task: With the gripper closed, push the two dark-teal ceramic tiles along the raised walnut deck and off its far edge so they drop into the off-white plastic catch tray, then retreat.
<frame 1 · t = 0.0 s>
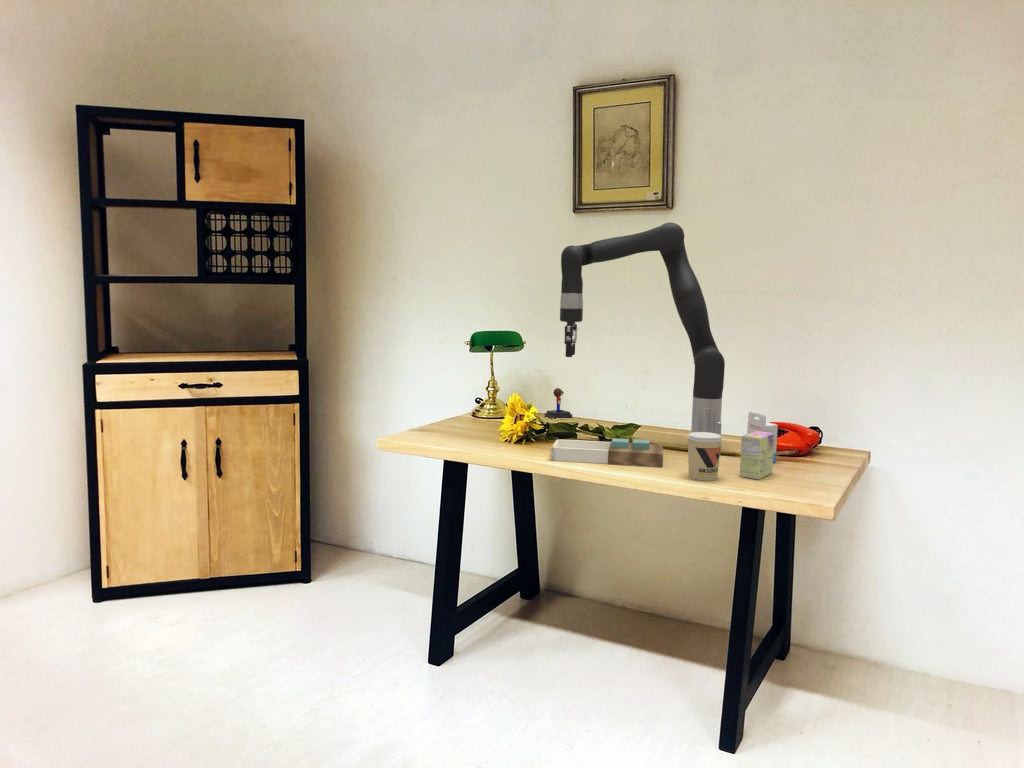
hand: (570, 355, 254), 29 cm above the table, fingers open, 8 cm apart
box: (755, 475, 216), on the table
tile 2: (640, 447, 231), point 4 cm above the table, touching walnut deck
ink box: (760, 460, 235), on the table
walnut deck: (635, 460, 232), on the table
tile 1: (620, 446, 232), point 4 cm above the table, touching walnut deck
coffee cup: (702, 477, 213), on the table
catch tray: (583, 457, 235), on the table
figurine: (558, 418, 305), on the table
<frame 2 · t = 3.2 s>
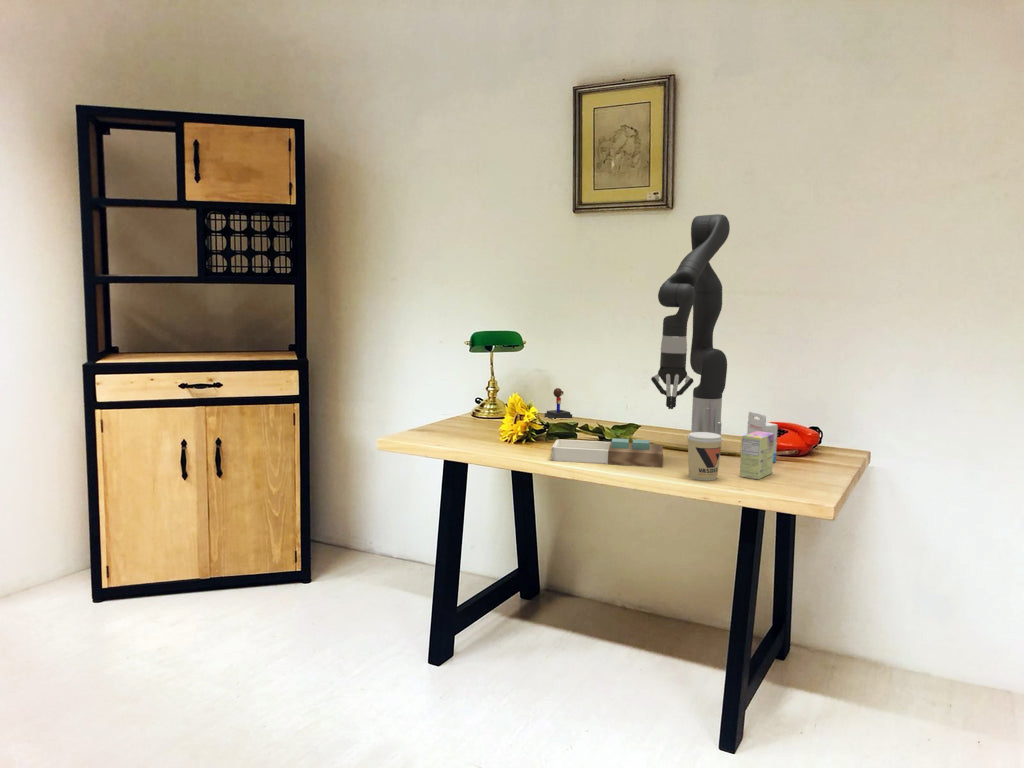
hand: (670, 408, 228), 16 cm above the table, fingers closed
nothing on the table moved.
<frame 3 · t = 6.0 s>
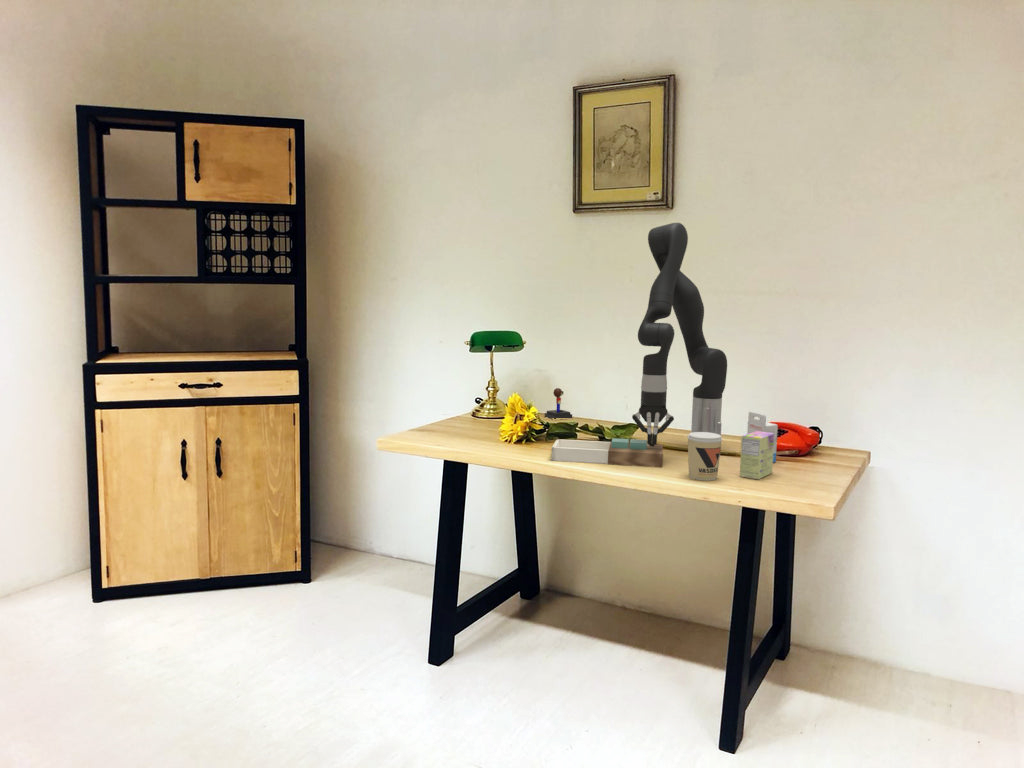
hand: (651, 445, 231), 5 cm above the table, fingers closed
nothing on the table moved.
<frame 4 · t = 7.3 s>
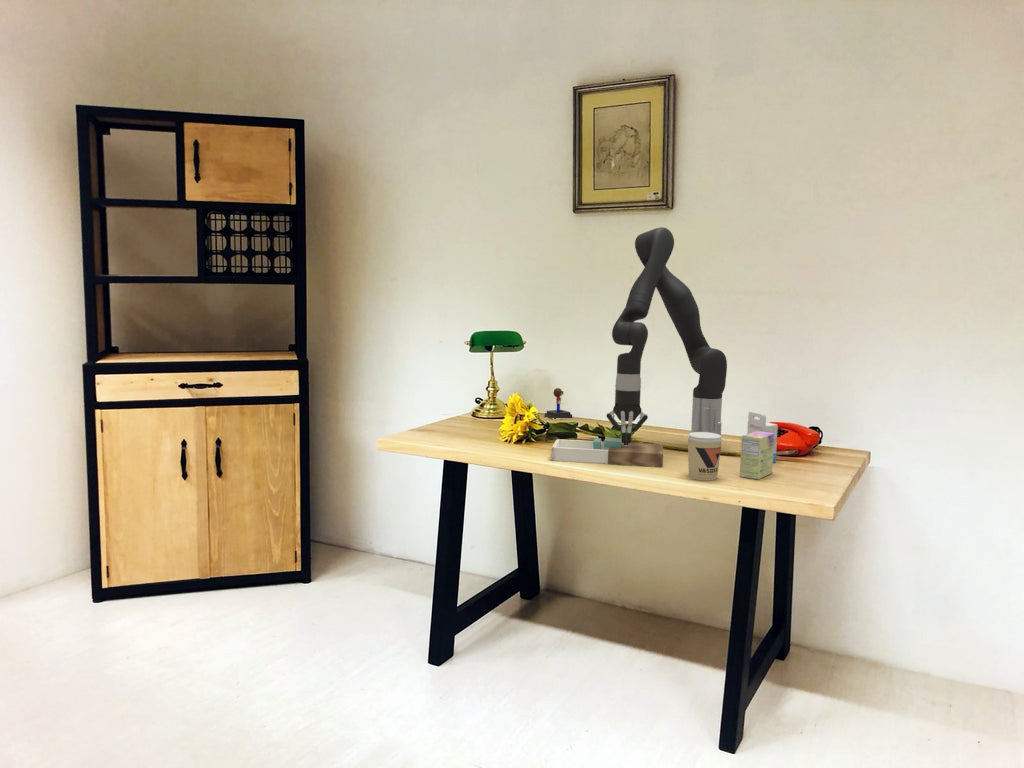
hand: (626, 444, 232), 5 cm above the table, fingers closed
tile 2: (613, 446, 233), point 4 cm above the table, touching gripper
tile 1: (600, 447, 234), point 3 cm above the table, tilted 95°, touching catch tray
everything else where it was.
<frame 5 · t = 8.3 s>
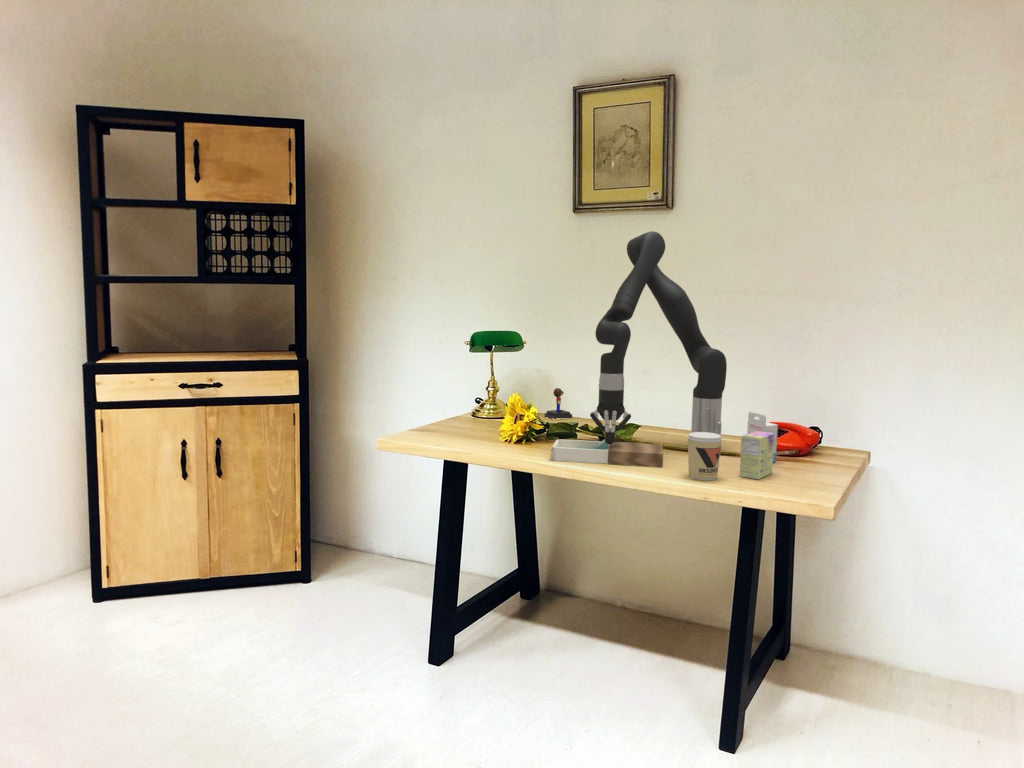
hand: (609, 443, 233), 5 cm above the table, fingers closed
tile 2: (602, 449, 234), point 3 cm above the table, tilted 39°, touching gripper, tile 1
tile 1: (584, 449, 235), point 3 cm above the table, tilted 180°, touching catch tray, tile 2
everything else where it was.
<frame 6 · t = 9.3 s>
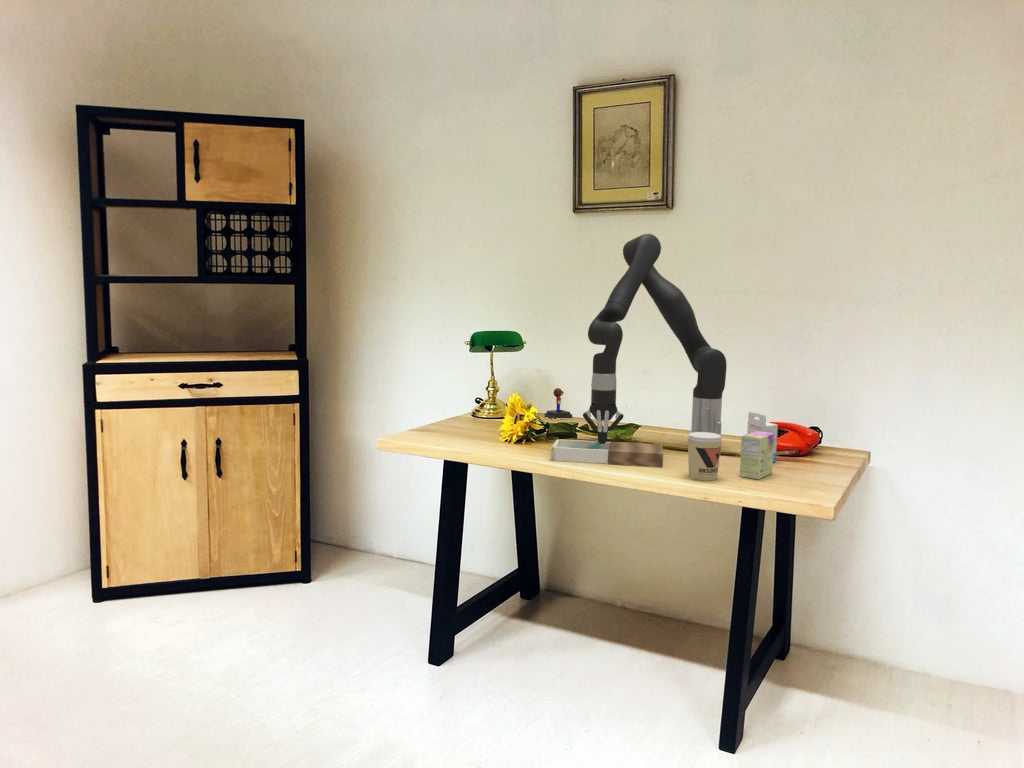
hand: (602, 443, 233), 5 cm above the table, fingers closed
tile 2: (595, 449, 235), point 2 cm above the table, tilted 36°, touching gripper, tile 1
tile 1: (576, 448, 236), point 3 cm above the table, tilted 180°, touching catch tray, tile 2
everything else where it was.
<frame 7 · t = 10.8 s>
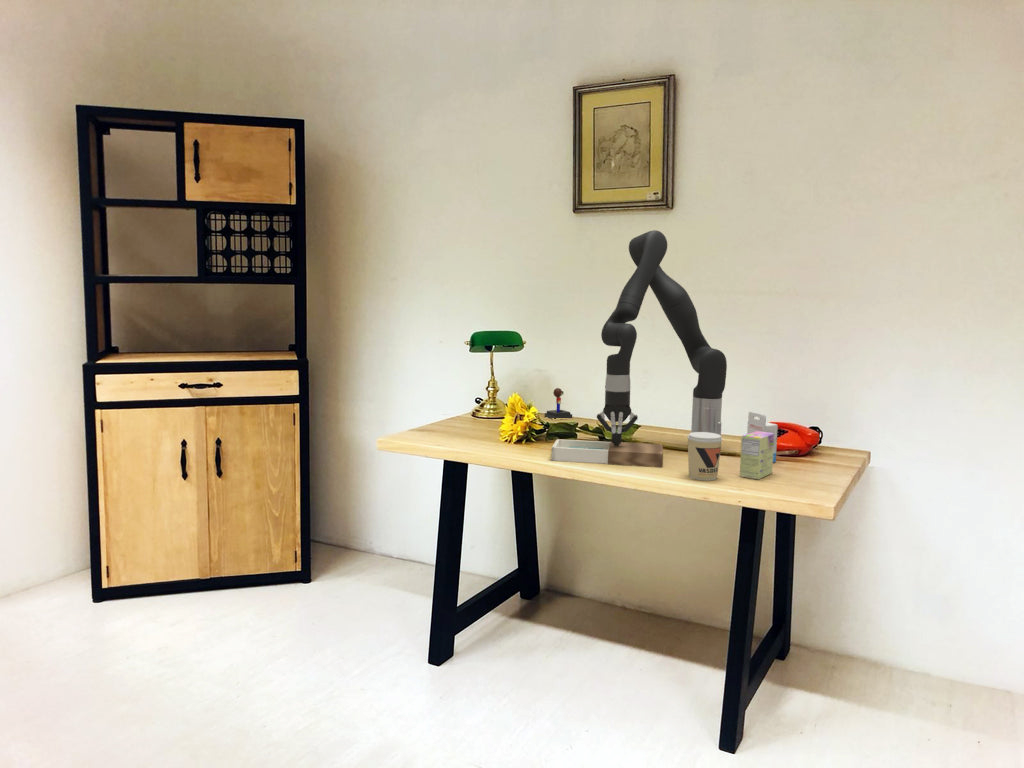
hand: (616, 445, 233), 4 cm above the table, fingers closed
tile 2: (594, 455, 235), point 1 cm above the table, touching catch tray
tile 1: (576, 448, 236), point 3 cm above the table, tilted 180°, touching catch tray
everything else where it was.
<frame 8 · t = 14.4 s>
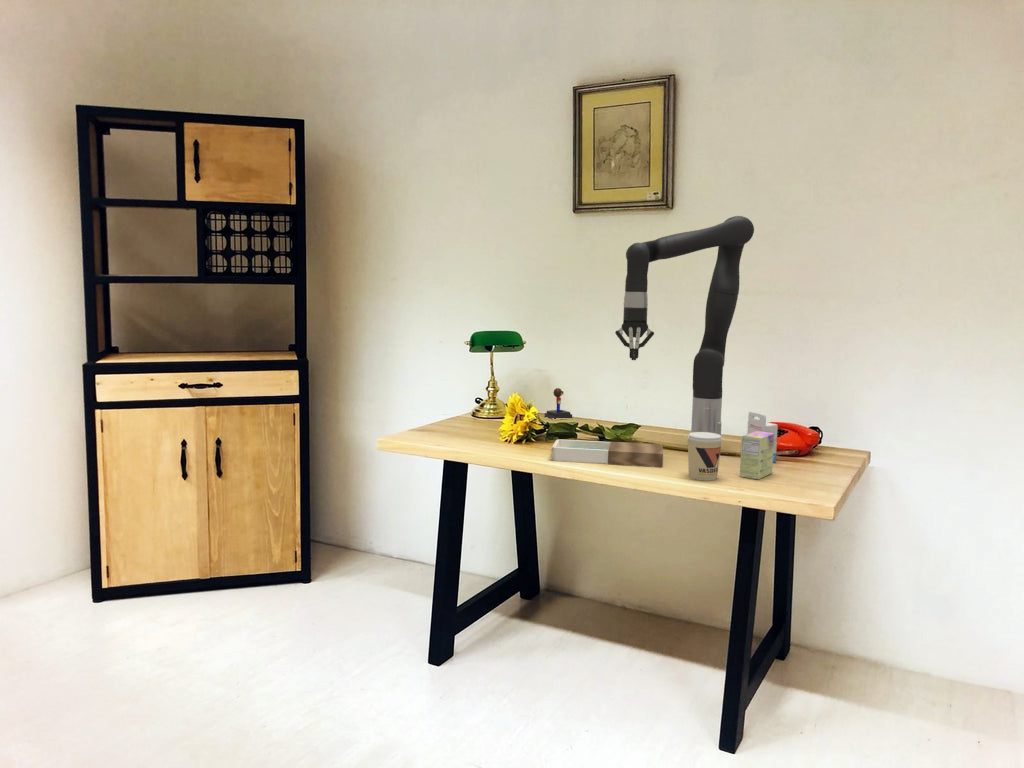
hand: (633, 359, 246), 29 cm above the table, fingers closed
nothing on the table moved.
at the end: tile 1 inside the target area on the catch tray (1.7 cm from its centre), point 2.6 cm above the catch tray's base; tile 2 inside the target area on the catch tray (4.2 cm from its centre), point 0.6 cm above the catch tray's base; tile 2 touching catch tray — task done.
